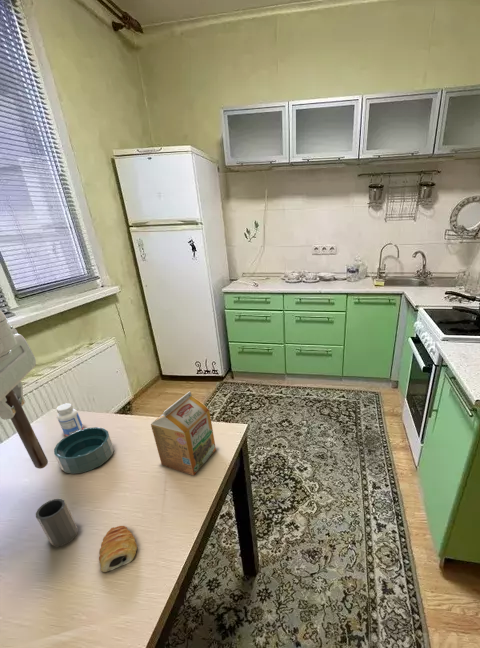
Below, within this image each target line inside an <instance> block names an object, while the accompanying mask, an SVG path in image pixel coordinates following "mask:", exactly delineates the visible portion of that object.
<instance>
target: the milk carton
mask: <svg viewBox="0 0 480 648" xmlns="http://www.w3.org/2000/svg"><path fill="white" fill-rule="evenodd" d="M150 427H151V431H152V434H153V438H154V442H155V445H156V448H157V453H158V456H159V461H160V464H161V465H162V466H166V468H168V469H172V470H175V471H178V472H182V473H184V474H188V475H191V476H195V475H196V473H197V472H198V471H200V469H201V468H202V467H203V466H204V465H205V463H207V462H208V460H209V459H210V457H211V456H212V455H213V454H214V453H215V452H216V451H217V448H216V447H217V446H216V442H215V441H216V440H215V436H214V430H213V424H212V418H211V411H210V409H209V408H208V407H207V405H206V404H204V403H203V402H201V401H200V400H199V399H197V398H196V397H195V396H193V395H192V392H191V391H188V392H187V393H185V394H184V395H183V396H181V397H180V398H179V399H177V400H176V401H175V402H174V403H173V404H171V405H170V406H169V407H167V408H166V409H165V410H164V411H163V413H162V414H161V415H159V417H157V418H156V419H155V420H154V421H152V422H151V424H150Z"/></svg>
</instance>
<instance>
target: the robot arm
mask: <svg viewBox="0 0 480 648" xmlns="http://www.w3.org/2000/svg"><path fill="white" fill-rule="evenodd" d="M36 365H37V360H36V356H35V354H34V353H33V351H32V349H31V347H30V345H29V343H28V342H27V340H26V338H25V337H24V336H23V335H22V334H20V333H18V330H17V328H15V327H13V326H11V325H10V323H9V321H8V318H7V316H6V315H5V313H4V312H3V311H2V309H0V419H1V420H11V418H13V417H14V415H15V414H16V410H15V408H14V406H9V405H8V404H7V403H6V401H7V399H6V397H5V396H6V395H7V394H8V393H9V392H10V391H11V390H14V391H15V393H16V395H17V398H18V400H19V402H20V404H21V406H22V407H23V406H24V405H25V404H26V399H25V398H24V396H23V395H24V392H23V391H24V389H23V387H24V385H23V383H22V380H23V379H24V378H25V377H26V376H27V375H28V374H29V373H31V371H32V370H33V369H34V368H36Z"/></svg>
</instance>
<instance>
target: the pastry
mask: <svg viewBox="0 0 480 648" xmlns="http://www.w3.org/2000/svg"><path fill="white" fill-rule="evenodd" d="M137 549H138V544H137V542H136V538H135V536H134V535H133V533H132V532H131V531H130V529H128V527H127V526H125V525H119V526H118V525H117V526H114V527H111V528H110V529H109V530H108V531H107V532H106V534H105V535H104V536H103V538H102V542H101V544H100V548H99V552H98V554H99V557H98V561H99V562H98V563H99V565H100V571H101V572H102V573H107V572H109V571H113V570H114V569H117V568H120V567H121V566H124V565H127V564H130V563H131V562H132V561H133V560H134V559H135V557H136V553H137Z"/></svg>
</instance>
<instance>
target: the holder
mask: <svg viewBox="0 0 480 648" xmlns="http://www.w3.org/2000/svg"><path fill="white" fill-rule="evenodd" d="M35 518H36V520H37V522H38V524H39V525H40V528H41V529H42V530H43V533H44V534H45V536H46V538H47V540H48V541H49V543H50V545H51V546H53V547H56V548H57V547H63V546H66V545H67V544H69V543H70V542H72V541H73V540H74V539H75V538H76V536H77V535H78V532H79V529H78V526H77V524H76V522H75V520H74V517H73V515H72V514H71V511H70V509H69V507H68V505H67V503H66V501H65V500H64V499H62V498H54V499H51V500H48V501H46V502H44V503H43V504H41V506H39V508H38V509H37V510H36V512H35Z"/></svg>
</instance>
